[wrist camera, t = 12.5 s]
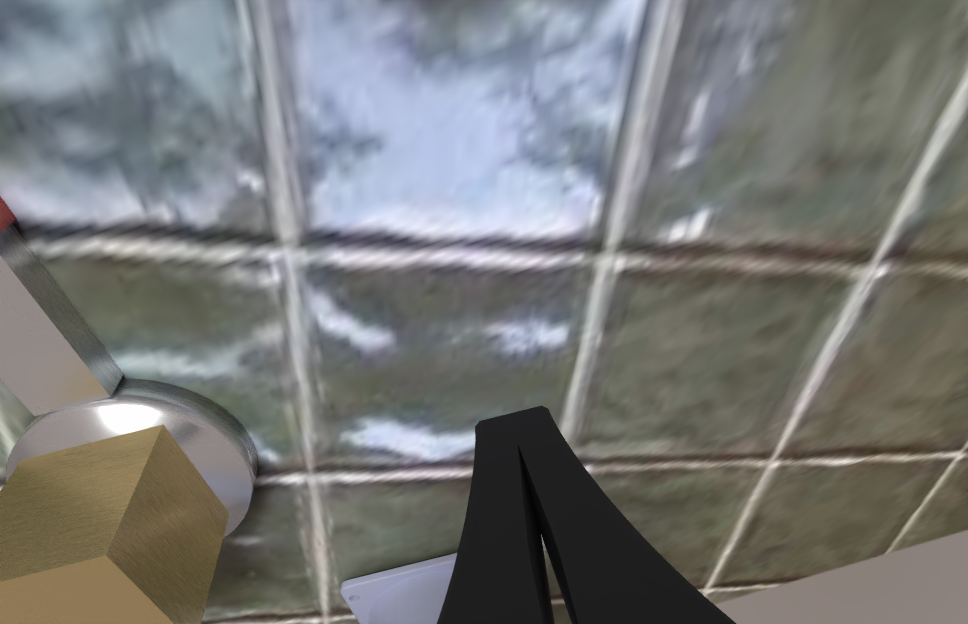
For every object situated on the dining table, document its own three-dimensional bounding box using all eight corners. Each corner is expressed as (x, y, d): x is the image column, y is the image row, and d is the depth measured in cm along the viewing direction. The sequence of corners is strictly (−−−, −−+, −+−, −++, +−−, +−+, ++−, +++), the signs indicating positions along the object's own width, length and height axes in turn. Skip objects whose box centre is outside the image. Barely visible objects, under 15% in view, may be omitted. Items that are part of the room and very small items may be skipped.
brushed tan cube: (229, 514, 23) (195, 644, 19) (104, 545, 23) (43, 682, 19) (163, 424, 20) (105, 555, 16) (21, 460, 20) (-72, 600, 16)
